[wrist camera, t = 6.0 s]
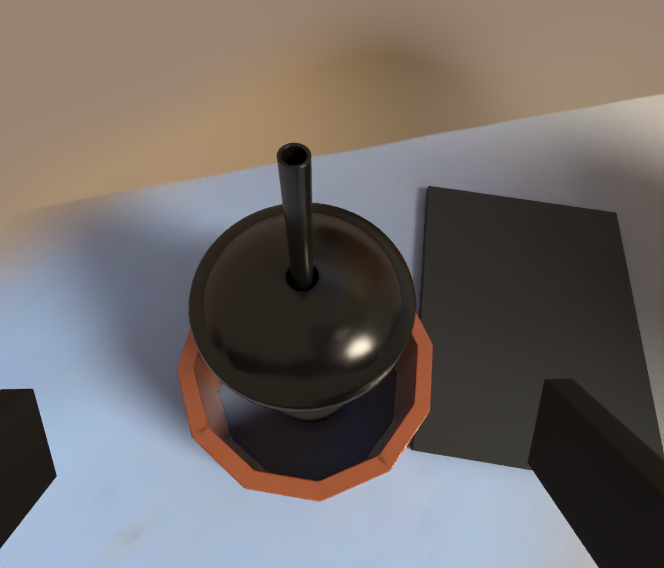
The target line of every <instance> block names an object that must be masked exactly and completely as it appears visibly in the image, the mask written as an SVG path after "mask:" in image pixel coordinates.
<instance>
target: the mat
mask: <svg viewBox="0 0 664 568" xmlns="http://www.w3.org/2000/svg"><path fill="white" fill-rule="evenodd" d="M419 319H420V321H421V323H422V325H423V327H424V329H425V331H426V333H427V335H428V337H429V339H430V341H431V343H432V345H433V351H432V374H431V397H430V411H429V413H428V415H427V416H426V418H425V419H424V421H423V422H422V424H421V425H420V427H419V428H418V430H417V431H416V433H415V434H414V436H413V437H412V439H411V450H415V451H420V452H426V453H432V454H438V455H444V456H450V457H456V458H462V459H468V460H474V461H480V462H486V463H492V464H498V465H504V466H510V467H516V468H522V469H528V470H532V469H531V467H530V466H529V464H528V463H527V462H528V457H529V453H530V448H531V443H532V438H533V433H534V428H535V423H536V418H537V413H538V408H539V404H540V399H541V394H542V389H543V384H544V379H572V378H573V379H574V380H575V381H576V382H577V383H578V384H579V385H580V386H582V387H583V388H584V389H585V390H586V391H587V392H588V393H589V394H591V395H592V396H593V397H594V398H595V399H596V400H597V401H598V402H600V403H601V404H602V405H603V406H604V407H605V408H606V409H607V410H608V411H610V412H611V413H612V414H613V415H614V416H615V417H616V418H617V419H619V420H620V421H621V422H622V423H623V424H624V425H625V426H626V427H628V428H629V429H630V430H631V431H632V432H633V433H634V434H635V435H636V436H638V437H639V438H640V439H641V440H642V441H643V442H644V443H645V444H647V445H648V446H649V447H650V448H651V449H652V450H653V451H654V452H656V453H657V454H658V455H659V456H660V457H661V458H662V459H663V460H664V452H663V447H662V442H661V437H660V432H659V427H658V422H657V417H656V412H655V407H654V401H653V396H652V391H651V386H650V381H649V376H648V371H647V366H646V361H645V356H644V351H643V346H642V341H641V336H640V331H639V326H638V320H637V315H636V310H635V305H634V300H633V295H632V290H631V285H630V280H629V275H628V270H627V265H626V260H625V255H624V250H623V244H622V239H621V234H620V229H619V224H618V219H617V214H616V213H615V212H608V211H601V210H594V209H587V208H580V207H573V206H566V205H559V204H552V203H545V202H538V201H531V200H524V199H517V198H510V197H503V196H496V195H489V194H482V193H475V192H468V191H461V190H454V189H447V188H440V187H433V186H428V189H427V196H426V212H425V228H424V245H423V261H422V277H421V293H420V310H419Z"/></svg>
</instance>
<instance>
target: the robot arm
mask: <svg viewBox="0 0 664 568" xmlns="http://www.w3.org/2000/svg"><path fill="white" fill-rule="evenodd" d="M527 463H528V464H529V466H530V467H531V469H532V470H533V471H534V473H535V474H536V476H537V477H538V479H539V480H540V482H541V483H542V485H543V486H544V488H545V489H546V491H547V492H548V494H549V495H550V497H551V498H552V499H553V501H554V502H555V504H556V505H557V507H558V508H559V510H560V511H561V513H562V514H563V516H564V517H565V519H566V520H567V522H568V523H569V525H570V526H571V527H572V529H573V530H574V532H575V533H576V535H577V536H578V538H579V539H580V541H581V542H582V544H583V545H584V547H585V548H586V550H587V551H588V553H589V554H590V555H591V557H592V558H593V560H594V561H595V563H596V564H597V566H598V567H599V568H664V460H663V459H662V458H661V457H660V456H659V455H658V454H657V453H656V452H654V451H653V450H652V449H651V448H650V447H649V446H648V445H647V444H645V443H644V442H643V441H642V440H641V439H640V438H639V437H638V436H636V435H635V434H634V433H633V432H632V431H631V430H630V429H629V428H628V427H626V426H625V425H624V424H623V423H622V422H621V421H620V420H619V419H617V418H616V417H615V416H614V415H613V414H612V413H611V412H610V411H608V410H607V409H606V408H605V407H604V406H603V405H602V404H601V403H600V402H598V401H597V400H596V399H595V398H594V397H593V396H592V395H591V394H589V393H588V392H587V391H586V390H585V389H584V388H583V387H582V386H580V385H579V384H578V383H577V382H576V381H575V380H574V379H573V378H572V379H544V384H543V389H542V394H541V399H540V404H539V408H538V413H537V418H536V423H535V428H534V433H533V438H532V443H531V448H530V453H529V457H528V462H527ZM56 476H57V475H56V471H55V468H54V464H53V460H52V457H51V453H50V449H49V445H48V442H47V438H46V434H45V431H44V427H43V423H42V420H41V416H40V412H39V409H38V405H37V401H36V398H35V394H34V390H33V389H1V390H0V548H1V547H2V546H3V544H4V543H5V542H6V541H7V539H8V538H9V537H10V535H11V534H12V533H13V532H14V530H15V529H16V528H17V526H18V525H19V524H20V523H21V521H22V520H23V519H24V517H25V516H26V515H27V514H28V512H29V511H30V510H31V508H32V507H33V506H34V505H35V503H36V502H37V501H38V499H39V498H40V497H41V496H42V494H43V493H44V492H45V490H46V489H47V488H48V487H49V485H50V484H51V483H52V481H53V480H54V479H55V478H56Z"/></svg>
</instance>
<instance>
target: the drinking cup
mask: <svg viewBox="0 0 664 568" xmlns="http://www.w3.org/2000/svg"><path fill="white" fill-rule="evenodd" d="M277 163H278V171H279V179H280V188H281V196H282V205H277V206H273V207H269V208H266V209H263V210H260V211H258V212H255V213H253V214H251V215H249V216H247V217H245V218H243V219H241V220H240V221H238V222H237V223H235V224H234V225H232V226H231V227H230V228H229V229H227V230H226V231H225V232H224V233H223V234H222V235H221V236H219V237H218V238H217V240H216V241H215V242H214V243H213V244H212V245H211V247H210V248H209V249H208V251H207V252H206V253H205V255H204V257H203V258H202V260H201V262H200V264H199V266H198V268H197V270H196V273H195V275H194V278H193V281H192V285H191V289H190V295H189V323H190V328H191V333H192V336H193V339H194V342H195V345H196V347H197V349H198V351H199V353H200V355H201V357H202V358H203V360H204V362H205V363H206V365H207V366H208V367H209V369H210V370H211V371H212V372H213V374H214V375H215V376H216V377H217V378H218V379H219V380H220V381H221V382H222V383H223V384H225V385H226V386H227V387H228V388H229V389H231V390H232V391H233V392H235V393H237V394H238V395H240V396H241V397H243V398H245V399H247V400H249V401H251V402H253V403H255V404H258V405H260V406H263V407H267V408H270V409H274V410H279V411H281V412H283V413H285V414H286V415H288V416H289V417H291V418H293V419H295V420H298V421H302V422H317V421H321V420H323V419H326V418H328V417H329V416H331V415H332V414H334V413H335V412H336V411H337V410H338V409H339V408H340V407H342V406H343V405H344V404H347V403H349V402H351V401H353V400H355V399H357V398H359V397H361V396H362V395H364V394H366V393H367V392H369V391H370V390H371V389H373V388H374V387H375V386H377V385H378V384H379V383H380V382H381V381H382V380H383V379H384V378H385V377H386V376H387V375H388V374H389V373H390V372H391V370H392V369H393V368H394V367H395V365H396V364H397V362H398V361H399V359H400V358H401V356H402V355H403V353H404V351H405V349H406V347H407V345H408V342H409V340H410V337H411V334H412V330H413V327H414V321H415V314H416V296H415V289H414V284H413V280H412V277H411V274H410V271H409V268H408V266H407V264H406V262H405V260H404V258H403V256H402V255H401V253H400V252H399V250H398V249H397V247H396V246H395V245H394V243H393V242H392V241H391V240H390V239H389V238H388V237H387V236H386V235H385V234H384V233H383V232H382V231H381V230H380V229H379V228H377V227H376V226H375V225H373V224H372V223H371V222H369V221H367V220H366V219H364V218H362V217H361V216H359V215H357V214H355V213H352V212H350V211H347V210H345V209H342V208H339V207H335V206H331V205H326V204H319V203H312V165H311V152H310V150H309V149H308V148H307V147H306V146H304V145H302V144H299V143H289V144H286V145H284V146H282V147H281V148H280V149H279V151H278V152H277Z"/></svg>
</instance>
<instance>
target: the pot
mask: <svg viewBox="0 0 664 568" xmlns="http://www.w3.org/2000/svg"><path fill="white" fill-rule="evenodd" d="M432 351H433V345H432V343H431V341H430V339H429V337H428V335H427V333H426V331H425V329H424V327H423V325H422V323H421V321H420V319H419V317H418V315H417V313H416V314H415V321H414V327H413V330H412V334H411V337H410V340H409V342H408V345H407V347H406V349H405V351H404V353H403V355H402V356H401V358H400V359H399V361H398V362H397V364H396V365H395V367H394V368H395V370H396V372H397V379H396V392H395V404H394V416H393V421H392V423H391V424H390V426H389V427H388V428H387V430H386V431H385V433H384V434H383V436H382V437H381V438H380V440H379V441H378V443H377V444H376V446H375V447H374V448H373V450H372V451H371V453H370V454H369V456H368V457H367V458H366V460H365V461H363V462H361V463H359V464H356V465H354V466H352V467H349V468H347V469H345V470H342V471H340V472H338V473H335V474H333V475H331V476H328V477H326V478H324V479H321V480H319V481H316V480H310V479H305V478H299V477H293V476H287V475H281V474H275V473H270V472H267V471H266V470H265V469H264V468H263V467H262V466H261V465H260V464H259V463H258V462H256V461H255V460H254V459H253V458H252V457H251V456H250V455H249V454H248V453H247V452H246V451H245V450H244V449H243V448H241V447H240V446H239V445H238V444H237V443H236V442H235V441H234V440H233V439H232V438H231V434H230V430H229V426H228V423H227V419H226V415H225V411H224V407H223V404H222V400H221V396H220V392H219V391H220V388H221V384H222V382H221V381H220V380H219V379H218V378H217V377H216V376H215V375H214V374H213V372H212V371H211V370H210V369H209V367H208V366H207V365H206V363H205V362H204V360H203V358H202V357H201V355H200V353H199V351H198V349H197V347H196V345H195V342H194V339H193V336H192V333H191V328H190V331H189V334H188V337H187V340H186V343H185V346H184V349H183V352H182V355H181V358H180V361H179V364H178V367H177V373H178V378H179V382H180V387H181V391H182V396H183V400H184V404H185V409H186V413H187V418H188V422H189V427H190V431H191V436H192V438H193V439H194V440H195V441H196V442H197V443H198V444H199V445H200V446H201V447H202V448H203V449H204V450H205V451H206V452H207V453H208V454H209V455H210V456H211V457H213V458H214V459H215V460H216V461H217V462H218V463H219V464H220V465H221V466H222V467H223V468H224V469H225V470H226V471H227V472H228V473H229V474H230V475H231V476H232V477H233V478H234V479H235V480H236V481H237V482H238V483H239V484H240V485H241V486H242V487H243V488H246V489H249V490H255V491H261V492H267V493H273V494H278V495H284V496H290V497H296V498H301V499H307V500H313V501H323V500H326V499H328V498H330V497H332V496H335V495H337V494H339V493H341V492H344V491H346V490H348V489H350V488H353V487H355V486H357V485H360V484H362V483H364V482H366V481H369V480H371V479H373V478H375V477H378V476H380V475H382V474H384V473H387V472H389V471H390V470H391V469H392V467H393V466H394V464H395V463H396V461H397V460H398V458H399V457H400V455H401V454H402V452H403V451H404V449H405V448H406V446H407V445H408V443H409V442H410V440H411V439H412V437H413V436H414V434H415V433H416V431H417V430H418V428H419V427H420V425H421V424H422V422H423V421H424V419H425V418H426V416H427V415H428V413H429V411H430V397H431V374H432Z"/></svg>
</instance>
